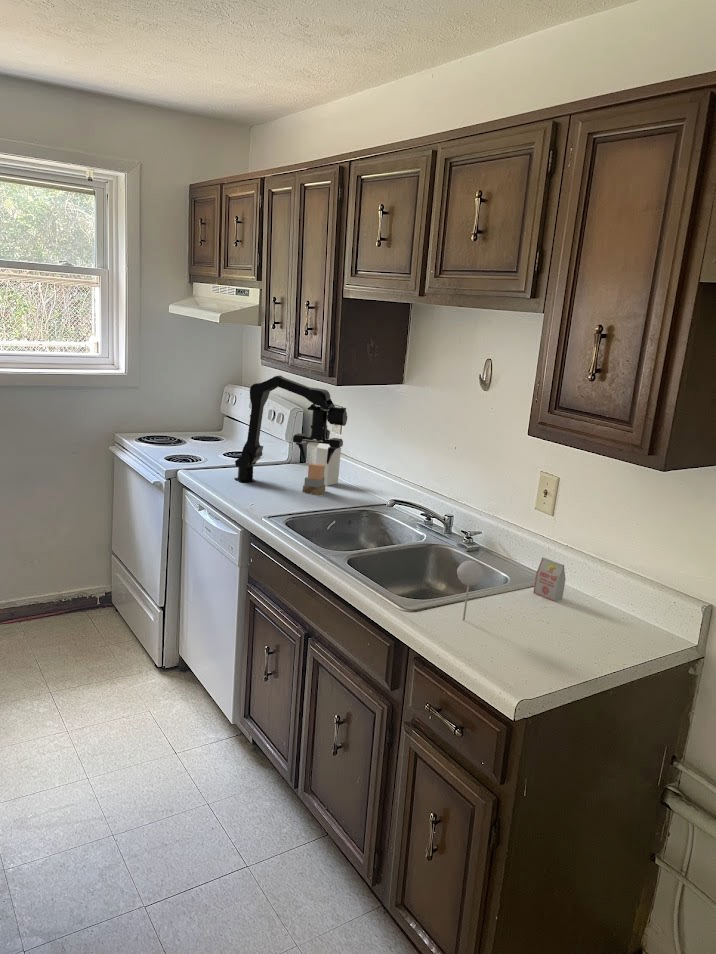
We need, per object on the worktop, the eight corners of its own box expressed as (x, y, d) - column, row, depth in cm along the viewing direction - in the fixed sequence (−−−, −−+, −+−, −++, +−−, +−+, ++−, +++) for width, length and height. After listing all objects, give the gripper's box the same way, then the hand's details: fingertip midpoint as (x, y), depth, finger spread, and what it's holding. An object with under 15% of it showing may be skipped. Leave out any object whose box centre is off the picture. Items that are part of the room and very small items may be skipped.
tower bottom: (302, 493, 278) (303, 485, 277) (308, 489, 284) (308, 482, 284) (319, 495, 276) (320, 488, 276) (325, 492, 283) (325, 484, 282)
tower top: (304, 485, 278) (304, 478, 277) (310, 482, 283) (310, 475, 283) (318, 487, 276) (319, 480, 275) (324, 484, 282) (324, 477, 281)
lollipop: (474, 615, 176) (481, 558, 172) (478, 626, 170) (486, 566, 166) (449, 614, 175) (456, 556, 172) (452, 624, 169) (460, 564, 166)
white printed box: (541, 590, 197) (546, 556, 194) (562, 599, 192) (568, 564, 190) (533, 593, 194) (538, 558, 192) (554, 602, 189) (559, 566, 187)
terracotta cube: (307, 478, 277) (308, 465, 276) (311, 475, 282) (312, 463, 281) (320, 479, 276) (321, 467, 275) (323, 477, 281) (324, 465, 280)
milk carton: (327, 486, 291) (330, 440, 287) (313, 482, 295) (317, 437, 291) (338, 483, 296) (341, 438, 292) (324, 480, 301) (328, 435, 296)
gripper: (348, 422, 280) (344, 461, 283) (303, 417, 284) (300, 455, 287) (340, 426, 269) (337, 467, 273) (293, 420, 273) (290, 460, 277)
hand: (316, 462), depth 278 cm, fingers open, 9 cm apart
